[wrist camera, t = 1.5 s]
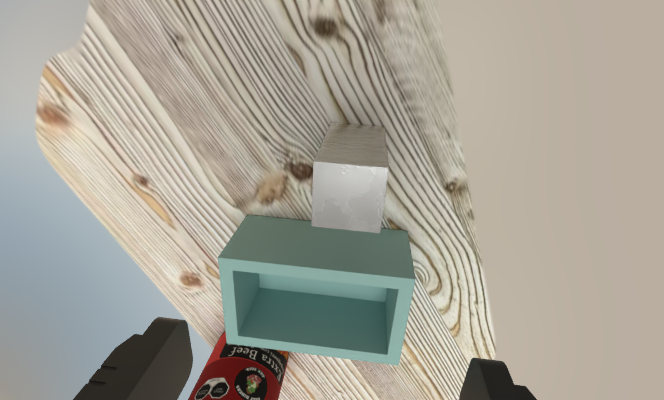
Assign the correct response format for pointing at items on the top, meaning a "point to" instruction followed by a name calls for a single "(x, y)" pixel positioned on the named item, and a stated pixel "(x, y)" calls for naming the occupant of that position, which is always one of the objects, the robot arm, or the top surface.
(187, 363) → the robot arm
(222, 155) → the top surface
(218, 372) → the canned food
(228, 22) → the top surface
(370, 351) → the box
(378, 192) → the grey upright brick
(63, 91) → the top surface
